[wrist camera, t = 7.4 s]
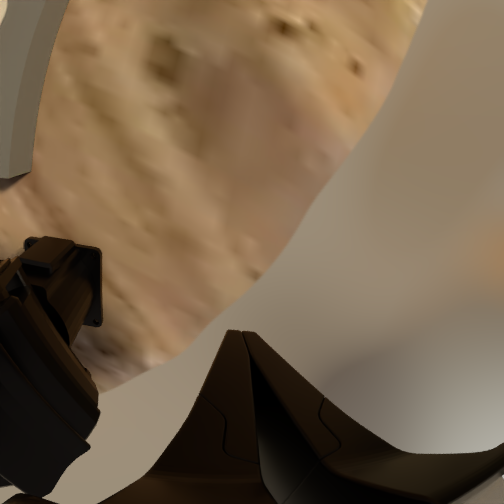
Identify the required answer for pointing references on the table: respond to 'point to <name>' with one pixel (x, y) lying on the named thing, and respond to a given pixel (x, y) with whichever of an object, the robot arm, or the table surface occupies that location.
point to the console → (23, 75)
